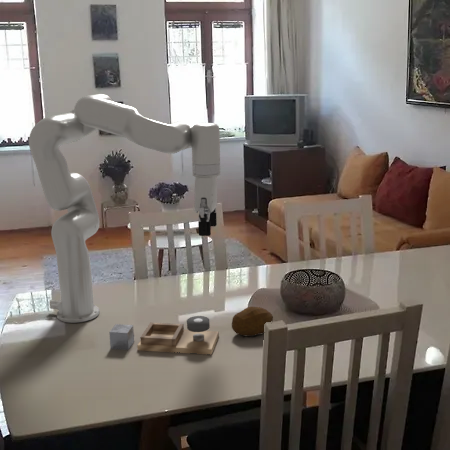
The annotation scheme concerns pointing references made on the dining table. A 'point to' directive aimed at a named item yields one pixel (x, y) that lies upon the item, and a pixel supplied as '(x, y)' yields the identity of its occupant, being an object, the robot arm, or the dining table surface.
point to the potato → (251, 321)
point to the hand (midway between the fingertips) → (207, 230)
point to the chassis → (177, 339)
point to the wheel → (198, 324)
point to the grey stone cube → (121, 337)
